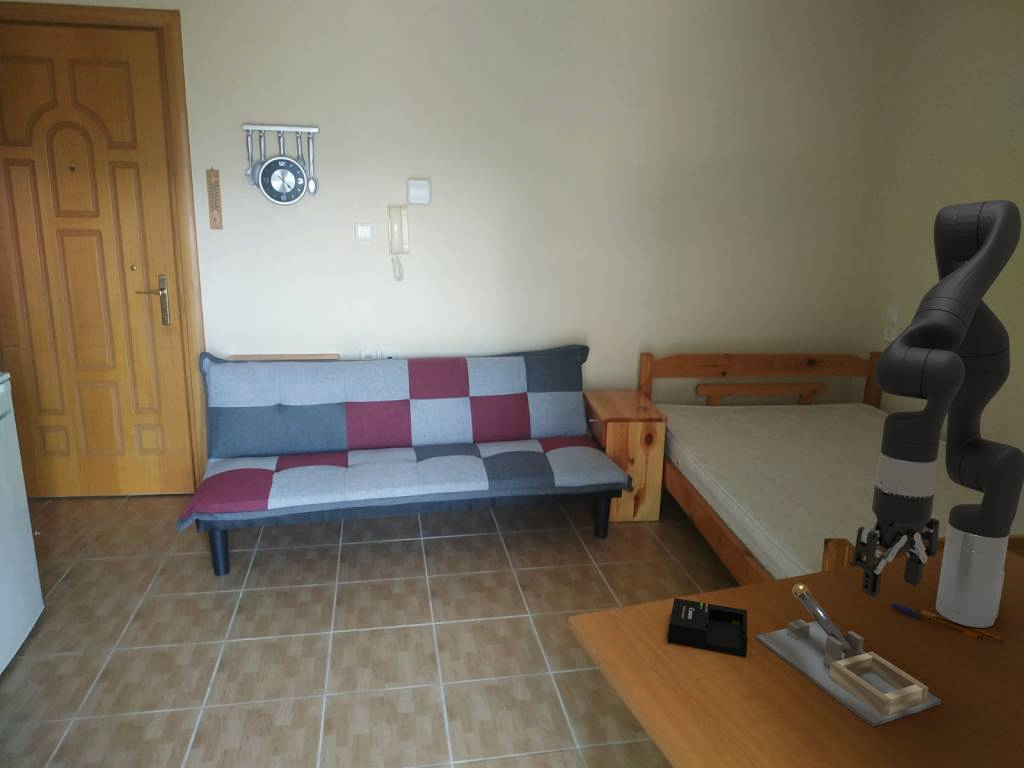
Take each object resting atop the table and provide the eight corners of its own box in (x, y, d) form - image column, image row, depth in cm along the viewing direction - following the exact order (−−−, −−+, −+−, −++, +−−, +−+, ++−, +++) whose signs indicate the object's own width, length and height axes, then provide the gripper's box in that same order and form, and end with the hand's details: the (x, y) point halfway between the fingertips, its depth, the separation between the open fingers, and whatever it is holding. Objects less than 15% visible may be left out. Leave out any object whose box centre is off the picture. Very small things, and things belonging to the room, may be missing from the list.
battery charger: (667, 644, 119) (668, 623, 118) (672, 617, 128) (673, 597, 127) (746, 659, 115) (748, 638, 114) (746, 630, 124) (747, 609, 123)
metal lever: (798, 588, 122) (804, 579, 120) (851, 654, 112) (858, 645, 111) (786, 591, 121) (792, 581, 119) (838, 658, 111) (846, 648, 110)
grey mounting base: (816, 623, 126) (820, 595, 125) (940, 704, 104) (946, 670, 103) (755, 639, 121) (758, 609, 119) (872, 726, 99) (877, 691, 98)
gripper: (915, 471, 106) (902, 569, 109) (846, 483, 100) (835, 586, 104) (963, 487, 99) (948, 591, 102) (891, 500, 94) (878, 610, 97)
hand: (891, 588), depth 103 cm, fingers open, 8 cm apart
